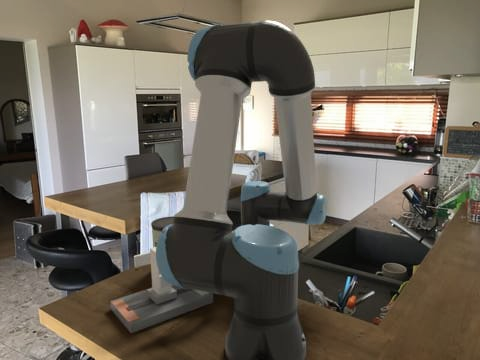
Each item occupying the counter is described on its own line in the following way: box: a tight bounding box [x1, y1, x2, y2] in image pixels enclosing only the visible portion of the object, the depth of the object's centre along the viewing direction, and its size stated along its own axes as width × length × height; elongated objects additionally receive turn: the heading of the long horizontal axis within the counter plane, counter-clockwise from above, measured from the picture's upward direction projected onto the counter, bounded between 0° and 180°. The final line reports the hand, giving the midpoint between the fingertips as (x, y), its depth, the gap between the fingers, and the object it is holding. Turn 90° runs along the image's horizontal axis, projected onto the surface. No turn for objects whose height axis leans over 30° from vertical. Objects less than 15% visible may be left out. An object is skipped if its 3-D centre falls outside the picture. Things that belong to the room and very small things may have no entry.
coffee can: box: [150, 215, 174, 248], centre depth 108 cm, size 10×10×14 cm
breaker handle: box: [146, 246, 177, 304], centre depth 88 cm, size 5×5×12 cm
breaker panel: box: [109, 285, 214, 334], centre depth 90 cm, size 12×20×2 cm, turn 127°
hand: (146, 271), depth 86 cm, fingers open, 12 cm apart
